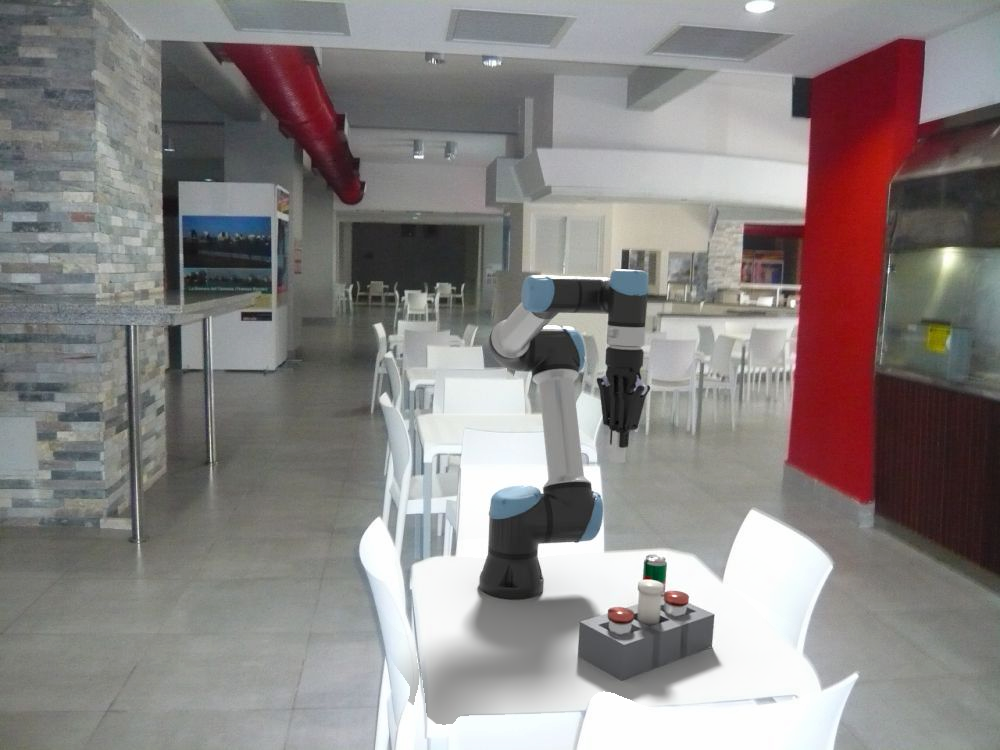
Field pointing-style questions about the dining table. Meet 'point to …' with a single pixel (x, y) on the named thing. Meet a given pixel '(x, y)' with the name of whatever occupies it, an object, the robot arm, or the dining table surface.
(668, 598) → the clear jar
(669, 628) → the gray vial holder
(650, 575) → the soda can
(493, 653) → the dining table surface
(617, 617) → the red-capped vial
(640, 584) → the white capped bottle
